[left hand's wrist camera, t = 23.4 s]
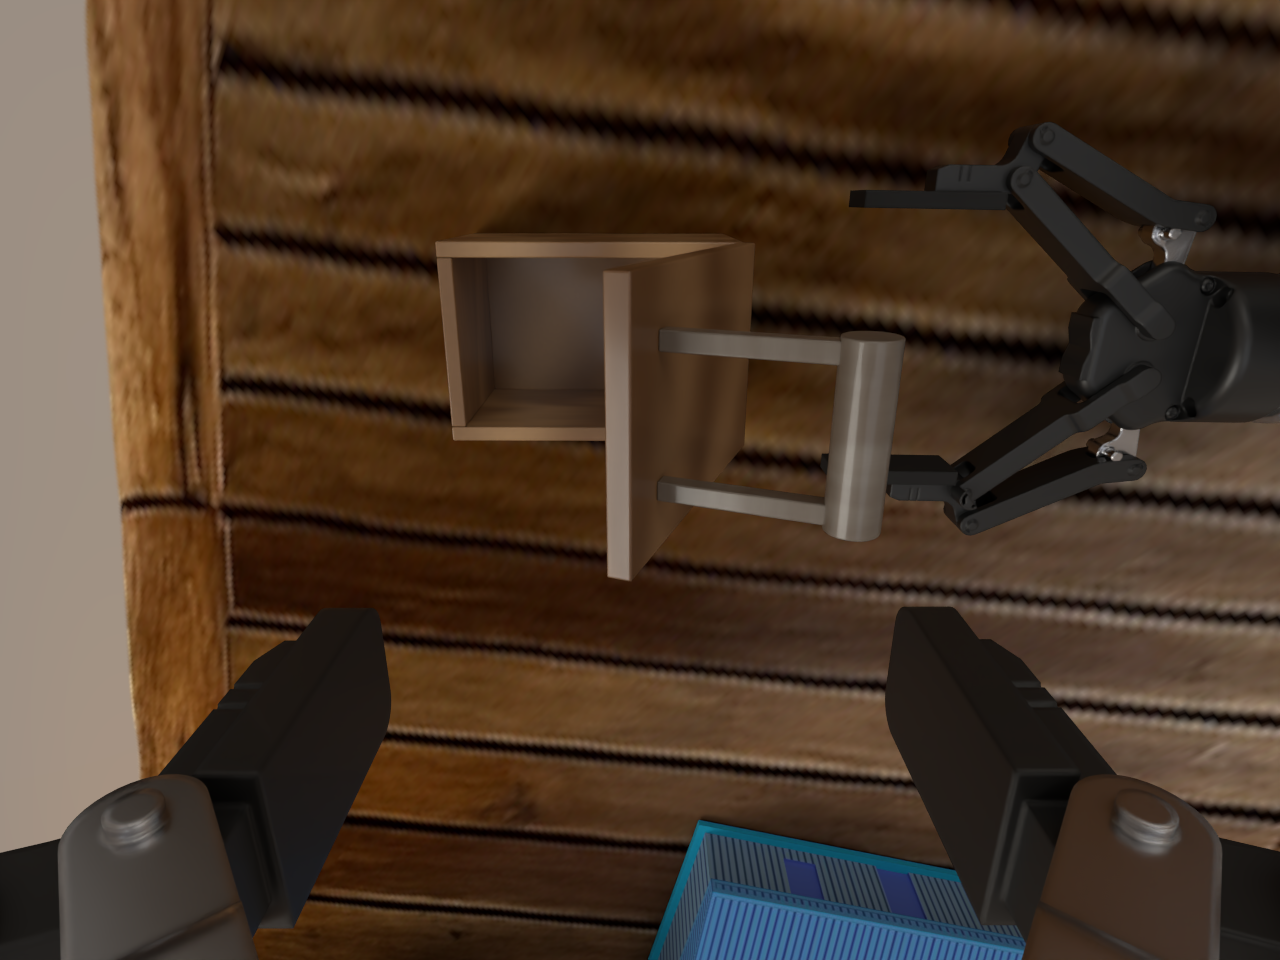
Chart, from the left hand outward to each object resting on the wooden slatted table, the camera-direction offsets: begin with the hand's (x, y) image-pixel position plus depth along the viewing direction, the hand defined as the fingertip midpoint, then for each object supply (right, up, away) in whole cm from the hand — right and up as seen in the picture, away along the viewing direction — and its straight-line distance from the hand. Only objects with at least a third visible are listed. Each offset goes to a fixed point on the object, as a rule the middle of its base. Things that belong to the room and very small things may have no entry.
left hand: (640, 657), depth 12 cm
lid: (+2, +7, +17) cm, 18 cm away
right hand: (+10, +10, +26) cm, 30 cm away
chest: (-2, +12, +32) cm, 34 cm away
